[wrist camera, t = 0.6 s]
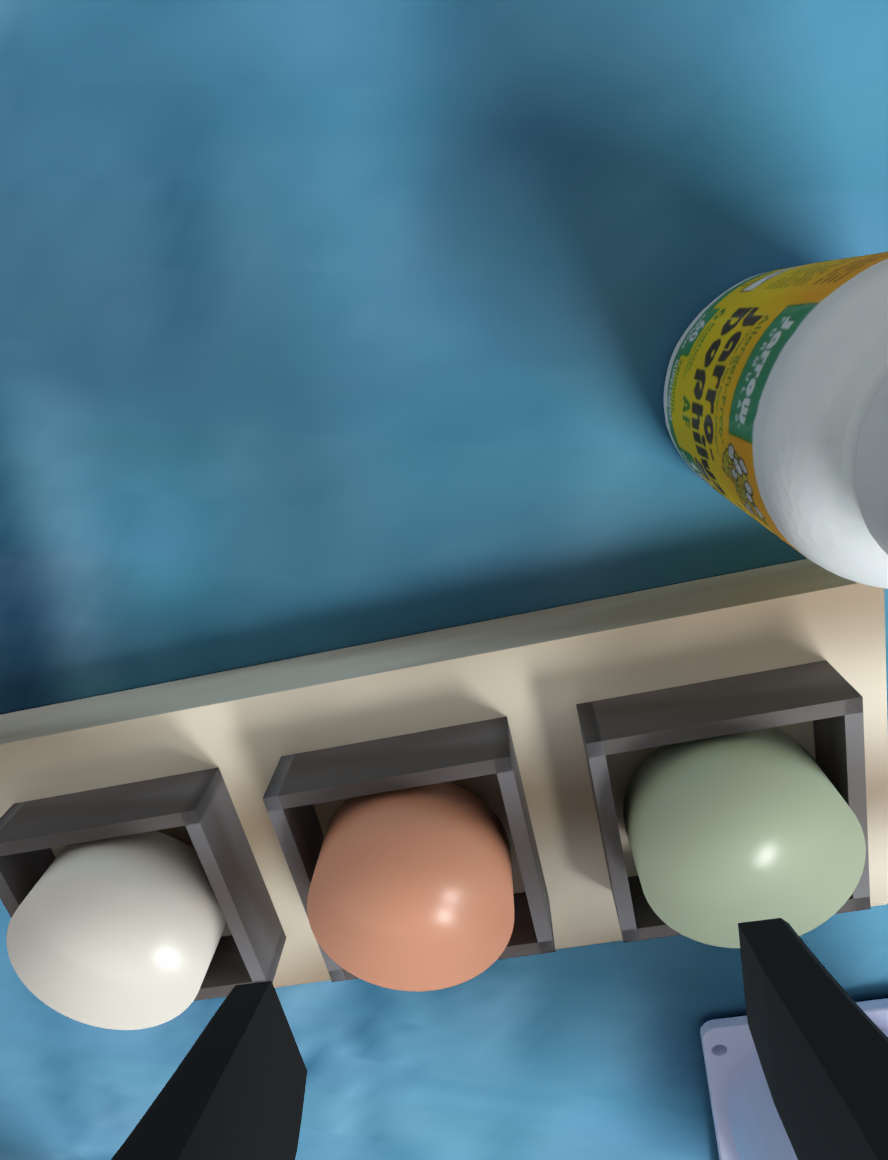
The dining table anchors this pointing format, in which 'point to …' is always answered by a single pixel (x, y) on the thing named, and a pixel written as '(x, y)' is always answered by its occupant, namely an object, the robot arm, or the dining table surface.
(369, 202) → the dining table surface
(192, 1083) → the robot arm
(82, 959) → the button cream
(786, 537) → the supplement bottle
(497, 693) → the button board
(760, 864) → the button sage
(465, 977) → the button terracotta
